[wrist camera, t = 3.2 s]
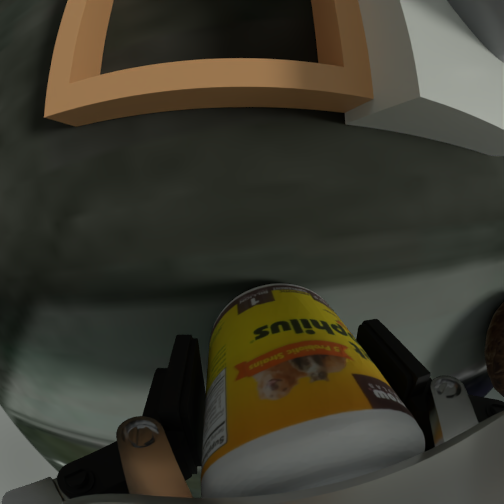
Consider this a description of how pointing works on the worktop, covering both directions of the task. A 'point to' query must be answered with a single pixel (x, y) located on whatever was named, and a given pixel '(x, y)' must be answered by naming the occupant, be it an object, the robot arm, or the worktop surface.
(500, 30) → the open box with knob
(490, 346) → the mushroom
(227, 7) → the worktop surface
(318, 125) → the worktop surface
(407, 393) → the robot arm
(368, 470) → the supplement bottle
